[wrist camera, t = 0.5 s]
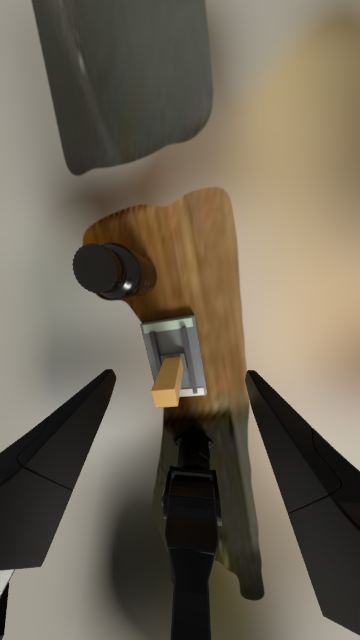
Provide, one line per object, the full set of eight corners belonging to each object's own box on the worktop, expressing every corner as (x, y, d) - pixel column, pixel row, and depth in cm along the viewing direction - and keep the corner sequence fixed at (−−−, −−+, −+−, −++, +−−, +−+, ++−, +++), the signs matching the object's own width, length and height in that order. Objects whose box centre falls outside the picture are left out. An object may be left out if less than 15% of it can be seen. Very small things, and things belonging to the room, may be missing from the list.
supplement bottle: (113, 274, 26) (48, 264, 14) (139, 247, 25) (89, 211, 13) (139, 303, 27) (96, 315, 15) (165, 278, 25) (141, 271, 14)
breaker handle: (187, 368, 27) (184, 409, 18) (165, 370, 28) (151, 411, 19) (184, 350, 26) (179, 384, 17) (161, 353, 27) (144, 387, 18)
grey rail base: (206, 389, 29) (207, 399, 27) (160, 393, 31) (156, 403, 28) (194, 314, 26) (194, 317, 24) (143, 322, 28) (137, 326, 25)
